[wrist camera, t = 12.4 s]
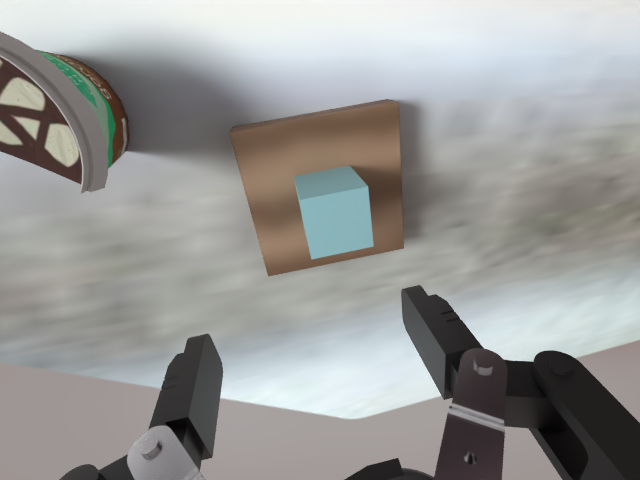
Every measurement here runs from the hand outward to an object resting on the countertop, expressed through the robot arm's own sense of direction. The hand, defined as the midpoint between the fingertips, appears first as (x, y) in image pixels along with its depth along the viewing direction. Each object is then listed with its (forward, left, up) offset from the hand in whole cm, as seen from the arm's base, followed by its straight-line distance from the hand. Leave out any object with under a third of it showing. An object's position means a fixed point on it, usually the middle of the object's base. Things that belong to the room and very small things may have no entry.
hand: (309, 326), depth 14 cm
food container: (-11, -15, -21) cm, 28 cm away
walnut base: (+1, +3, -21) cm, 21 cm away
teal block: (+1, +3, -18) cm, 18 cm away
